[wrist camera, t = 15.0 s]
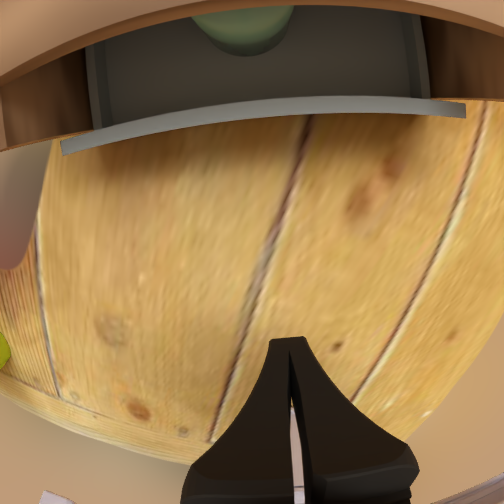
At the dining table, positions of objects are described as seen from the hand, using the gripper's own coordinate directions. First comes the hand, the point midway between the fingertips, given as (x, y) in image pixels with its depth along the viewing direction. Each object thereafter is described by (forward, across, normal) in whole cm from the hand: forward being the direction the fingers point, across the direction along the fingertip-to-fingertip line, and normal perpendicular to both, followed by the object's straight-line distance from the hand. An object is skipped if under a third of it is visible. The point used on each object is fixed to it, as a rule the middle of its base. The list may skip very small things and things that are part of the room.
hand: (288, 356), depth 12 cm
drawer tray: (+10, 0, -15) cm, 18 cm away
